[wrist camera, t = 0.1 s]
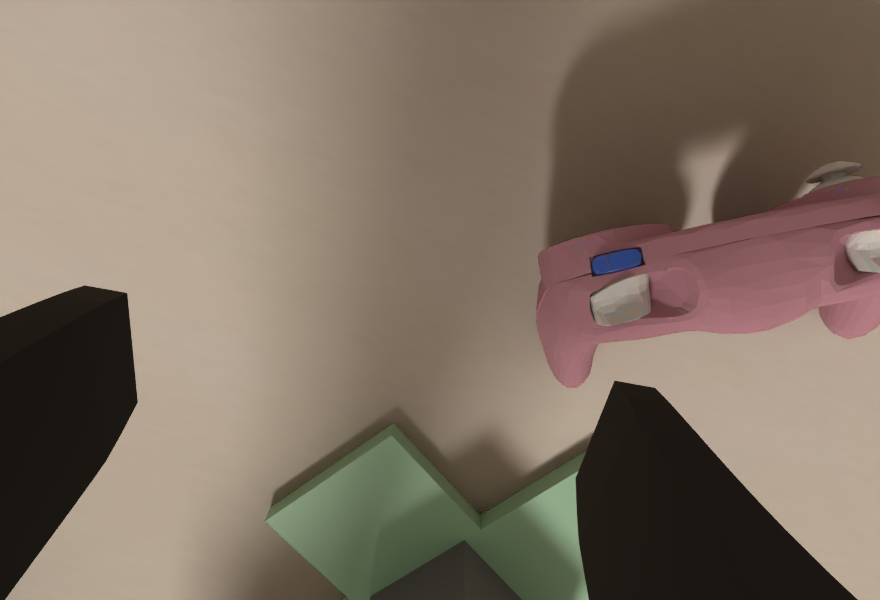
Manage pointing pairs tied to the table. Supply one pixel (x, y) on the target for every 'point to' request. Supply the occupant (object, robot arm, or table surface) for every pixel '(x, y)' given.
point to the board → (432, 530)
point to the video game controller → (717, 274)
